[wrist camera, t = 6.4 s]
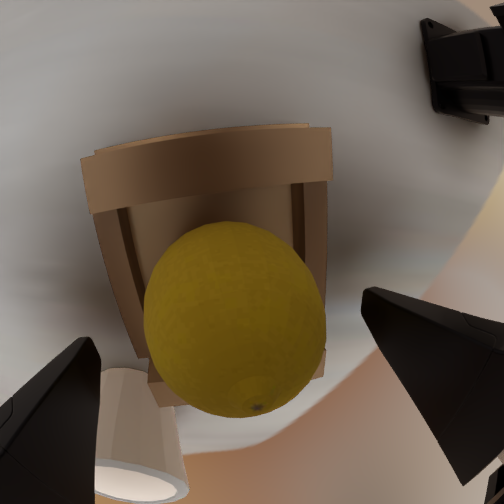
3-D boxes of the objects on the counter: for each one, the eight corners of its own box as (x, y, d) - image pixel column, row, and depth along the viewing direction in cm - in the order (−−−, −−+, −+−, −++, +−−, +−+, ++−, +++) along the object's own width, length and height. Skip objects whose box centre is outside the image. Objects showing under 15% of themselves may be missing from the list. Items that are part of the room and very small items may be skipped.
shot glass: (116, 429, 17) (111, 505, 11) (64, 369, 14) (36, 457, 8) (197, 414, 18) (209, 500, 12) (154, 349, 15) (148, 455, 9)
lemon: (131, 255, 12) (73, 394, 4) (232, 175, 12) (306, 225, 4) (209, 335, 14) (234, 480, 7) (300, 270, 14) (398, 387, 6)
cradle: (300, 124, 12) (343, 120, 9) (304, 331, 17) (332, 376, 13) (101, 149, 11) (65, 154, 7) (154, 358, 15) (150, 411, 12)
